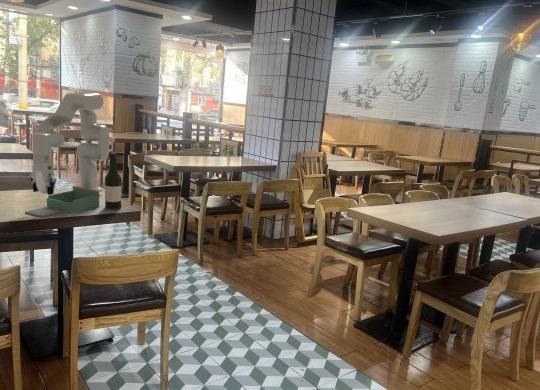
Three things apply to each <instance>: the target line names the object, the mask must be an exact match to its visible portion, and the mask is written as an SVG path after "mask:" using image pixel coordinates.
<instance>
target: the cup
mask: <svg viewBox="0 0 540 390" xmlns="http://www.w3.org/2000/svg"><path fill="white" fill-rule="evenodd" d="M50 179H51V178H50V177H49V179H48V180H50ZM49 183H50V182H49ZM36 185H37V189H38V191H37V192H40V193H41V194H42V195H46V194H47V187H48V185H47V184H46V183H45V182H44V180H43V176H42V173H41V171H36Z"/></svg>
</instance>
